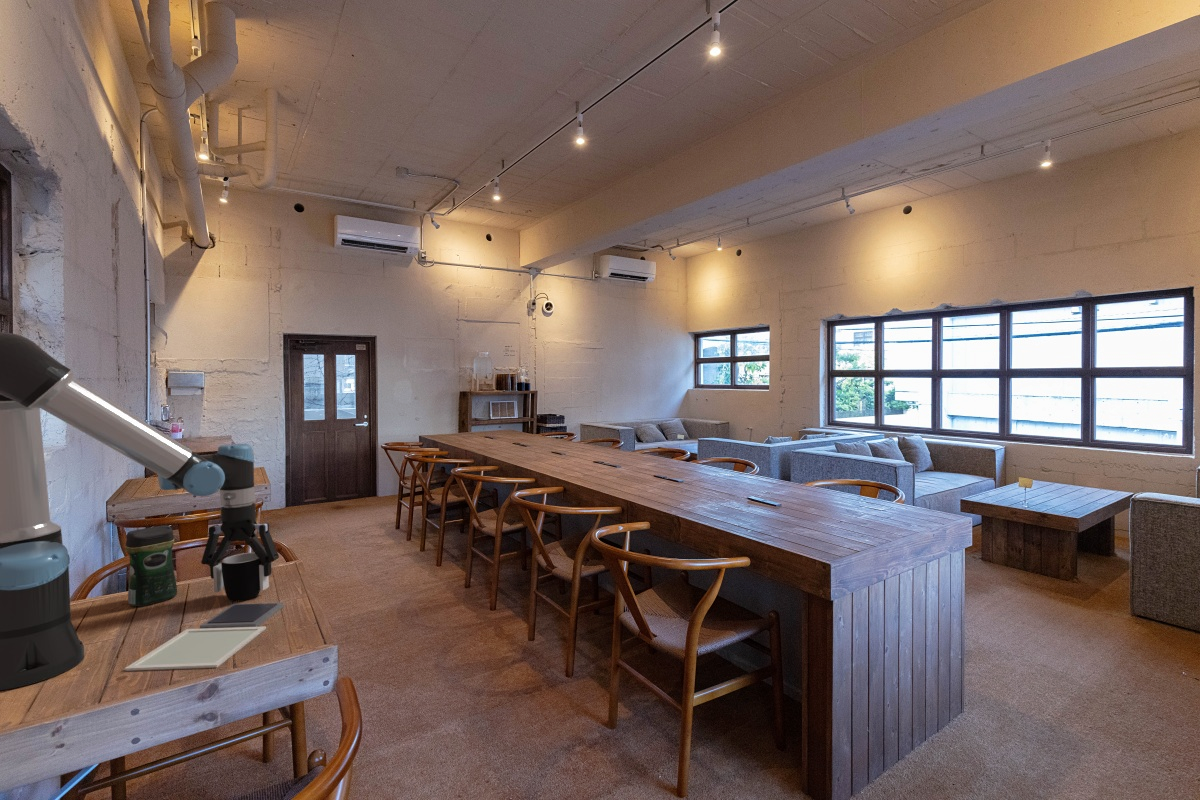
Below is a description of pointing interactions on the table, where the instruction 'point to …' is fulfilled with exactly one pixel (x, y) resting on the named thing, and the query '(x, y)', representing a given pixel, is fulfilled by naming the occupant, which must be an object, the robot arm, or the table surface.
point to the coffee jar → (150, 565)
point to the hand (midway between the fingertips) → (241, 589)
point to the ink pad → (243, 615)
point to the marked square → (197, 649)
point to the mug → (241, 576)
